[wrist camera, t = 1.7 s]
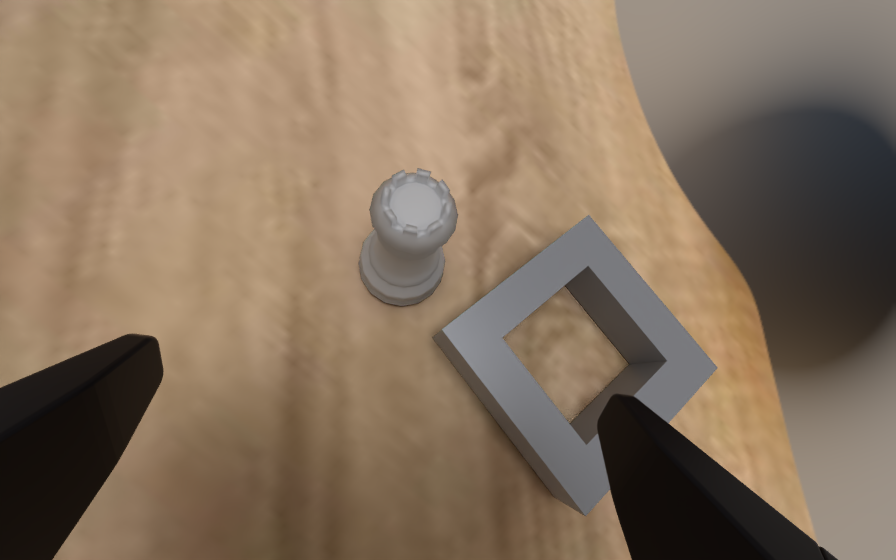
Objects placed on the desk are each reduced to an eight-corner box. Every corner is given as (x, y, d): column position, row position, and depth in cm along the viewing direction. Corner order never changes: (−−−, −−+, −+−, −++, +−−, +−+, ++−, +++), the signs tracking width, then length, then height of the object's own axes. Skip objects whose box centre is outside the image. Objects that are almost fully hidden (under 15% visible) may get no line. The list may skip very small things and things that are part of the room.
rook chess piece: (344, 287, 20) (328, 228, 13) (379, 215, 22) (384, 124, 14) (423, 321, 21) (453, 282, 13) (453, 248, 22) (496, 175, 15)
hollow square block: (554, 497, 20) (585, 516, 17) (432, 337, 21) (441, 329, 18) (674, 370, 23) (717, 367, 20) (562, 235, 24) (588, 214, 21)
